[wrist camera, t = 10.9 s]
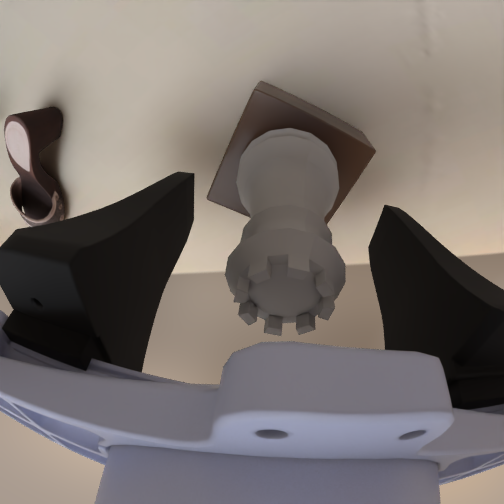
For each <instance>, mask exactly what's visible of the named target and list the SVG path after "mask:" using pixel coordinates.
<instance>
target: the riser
mask: <svg viewBox="0 0 504 504" xmlns="http://www.w3.org/2000/svg"><path fill="white" fill-rule="evenodd" d="M286 128H293V129H297V130H301V131H305V132H309V133H311V134H313V135H314V136H315V137H317V138H318V139H320V140H321V141H322V142H324V143H325V144H326V145H327V146H328V148H329V149H330V151H331V153H332V155H333V156H334V158H335V160H336V162H337V170H338V179H339V191H338V194H337V196H336V199H335V202H334V204H333V207H332V209H331V210H330V211H329V212H328V213H327V215H326V216H325V217H324V221H325V223H326V225H327V223H328V222H329V221H330V219H331V218H332V216H333V215H334V213H335V212H336V210H337V209H338V208H339V206H340V205H341V203H342V202H343V200H344V199H345V197H346V196H347V194H348V193H349V191H350V190H351V188H352V187H353V185H354V184H355V182H356V181H357V179H358V178H359V176H360V175H361V173H362V172H363V170H364V169H365V167H366V166H367V164H368V163H369V161H370V160H371V158H372V157H373V155H374V154H375V152H376V150H375V149H374V148H373V146H372V145H371V143H370V142H369V141H368V139H367V138H366V136H365V135H364V134H363V132H362V131H360V130H358V129H356V128H355V127H353V126H351V125H349V124H348V123H346V122H344V121H342V120H341V119H339V118H337V117H335V116H333V115H331V114H329V113H328V112H326V111H324V110H322V109H320V108H318V107H316V106H314V105H312V104H310V103H308V102H306V101H304V100H302V99H300V98H298V97H296V96H294V95H292V94H290V93H287V92H285V91H283V90H281V89H279V88H277V87H274V86H272V85H270V84H268V83H265V82H263V81H260V82H259V83H258V84H257V86H256V87H255V89H254V90H253V92H252V95H251V97H250V99H249V101H248V103H247V105H246V107H245V110H244V112H243V114H242V116H241V118H240V121H239V123H238V125H237V127H236V129H235V132H234V134H233V136H232V138H231V141H230V143H229V145H228V148H227V150H226V152H225V154H224V157H223V159H222V161H221V164H220V166H219V168H218V171H217V173H216V176H215V178H214V180H213V183H212V185H211V188H210V190H209V192H208V195H207V200H210V201H212V202H214V203H217V204H219V205H222V206H224V207H226V208H229V209H231V210H234V211H236V212H238V213H241V214H243V215H246V216H248V217H250V214H249V212H248V211H247V210H246V208H245V207H244V206H243V204H242V203H241V199H240V195H239V191H238V187H237V183H236V181H237V176H238V169H239V164H240V159H241V156H242V154H243V153H244V151H245V150H246V149H247V147H248V146H249V144H250V143H251V142H252V141H253V140H254V139H256V138H258V137H260V136H261V135H263V134H265V133H266V132H268V131H271V130H278V129H286Z"/></svg>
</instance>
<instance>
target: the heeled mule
mask: <svg viewBox="0 0 504 504" xmlns="http://www.w3.org/2000/svg"><path fill="white" fill-rule="evenodd" d="M62 121H63V120H62V114H61V112H60V110H59V109H57V108H56V107H49V108H44V109H39V110H34V111H28V112H23V113H18V114H13V115H10V116H8V117H7V118H6V121H5V128H4V132H5V141H6V146H7V151H8V155H9V158H10V160H11V163H12V165H13V166H14V168H15V169H16V171H17V172H18V174H19V175H20V177H19V178H17V179H16V180H15V181H14V182H13V183H12V185H11V188H10V195H11V200H12V203H13V205H14V206H15V208H16V209H17V210H18V211H19V213H20V214H21V216H22V218H23V219H24V221H25V223H26V224H27V225H29V227H33V226H39V225H45V224H50V223H54V222H58V221H63V219H64V202H63V197H62V194H61V191H60V187H59V185H58V182H56V181H55V180H54V179H53V178H52V177H50V176H49V175H48V174H47V173H46V172H45V171H44V170H43V168H42V167H41V164H40V160H39V152H40V151H41V150H42V149H44V148H45V147H47V146H48V145H49V144H51V143H52V142H54V141H55V140H57V139H58V138H59V137H60V134H61V129H62ZM22 206H23V208H24V211H25V214H24V213H23V212H22Z"/></svg>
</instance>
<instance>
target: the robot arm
mask: <svg viewBox="0 0 504 504" xmlns="http://www.w3.org/2000/svg"><path fill="white" fill-rule="evenodd" d="M193 221H194V173H186V172H177V173H174V174H172V175H170V176H168V177H166V178H164V179H162V180H160V181H158V182H156V183H154V184H152V185H151V186H149V187H147V188H145V189H143V190H141V191H139V192H137V193H135V194H133V195H131V196H129V197H127V198H125V199H123V200H121V201H118V202H116V203H114V204H111V205H109V206H106V207H104V208H101V209H98V210H95V211H92V212H89V213H86V214H83V215H80V216H77V217H74V218H70V219H66V220H63V221H58V222H54V223H50V224H45V225H39V226H33V227H27V228H21V229H17V230H15V231H14V233H13V234H12V235H11V236H10V237H9V238H8V239H7V240H6V241H5V242H4V243H3V244H2V246H1V247H0V285H1V288H2V289H3V291H4V293H5V295H6V297H7V299H8V301H9V302H10V304H11V306H12V308H13V309H14V310H13V311H12V313H11V314H10V316H9V317H8V316H7V315H6V314H5V313H4V312H2V311H1V310H0V411H1V412H3V413H5V414H6V415H8V416H9V417H11V418H12V419H14V420H16V421H17V422H19V423H21V424H23V425H24V426H26V427H28V428H30V429H31V430H33V431H35V432H36V433H38V434H40V435H42V436H44V437H46V438H48V439H49V440H51V441H53V442H55V443H57V444H59V445H61V446H63V447H65V448H67V449H69V450H72V451H74V452H76V453H78V454H80V455H82V456H85V457H87V458H89V459H91V460H94V461H96V462H99V463H101V464H104V465H105V468H104V471H103V475H102V478H101V482H100V486H99V489H98V493H97V497H96V501H95V504H440V492H439V485H442V484H446V483H449V482H453V481H456V480H459V479H463V478H466V477H469V476H472V475H475V474H478V473H481V472H484V471H486V470H489V469H492V468H495V467H497V466H500V465H503V464H504V290H503V289H501V288H500V287H498V286H496V285H495V284H493V283H492V282H490V281H489V280H487V279H486V278H484V277H483V276H481V275H480V274H478V273H477V272H476V271H474V270H473V269H471V268H470V267H469V266H468V265H466V264H465V263H464V262H462V261H461V260H460V259H458V258H457V257H456V256H455V255H454V254H452V253H451V252H450V251H449V250H448V249H447V248H445V247H444V246H443V245H442V244H441V243H440V242H439V241H437V240H436V239H435V238H434V237H433V236H432V235H431V234H430V233H429V232H428V231H426V230H425V229H424V228H423V227H422V226H421V225H420V224H419V223H418V222H416V221H415V220H414V219H413V218H412V217H411V216H409V215H408V214H407V213H406V212H404V211H403V210H401V209H400V208H397V207H392V206H388V205H384V208H383V211H382V214H381V216H380V219H379V221H378V224H377V227H376V229H375V232H374V234H373V237H372V240H371V242H370V245H369V247H368V248H369V259H370V267H371V272H372V276H373V280H374V285H375V288H376V292H377V297H378V301H379V305H380V310H381V314H382V320H383V327H384V340H385V350H379V349H364V348H352V347H341V346H340V347H339V346H330V345H320V344H310V343H302V342H294V341H293V342H292V341H289V342H288V341H287V342H260V343H258V344H255V345H252V346H249V347H247V348H244V349H241V350H238V351H236V352H234V353H232V355H231V356H230V358H229V359H228V361H227V362H226V363H225V365H224V366H223V371H222V376H221V382H220V385H218V384H190V383H185V382H180V381H175V380H171V379H167V378H162V377H158V376H153V375H150V374H145V373H142V367H143V363H144V358H145V354H146V349H147V346H148V341H149V337H150V334H151V330H152V326H153V323H154V319H155V316H156V312H157V309H158V306H159V303H160V300H161V297H162V293H163V291H164V288H165V286H166V284H167V281H168V279H169V277H170V275H171V273H172V271H173V269H174V267H175V265H176V263H177V261H178V258H179V256H180V254H181V252H182V250H183V248H184V246H185V244H186V242H187V239H188V236H189V233H190V230H191V227H192V224H193Z"/></svg>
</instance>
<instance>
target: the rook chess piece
mask: <svg viewBox="0 0 504 504" xmlns="http://www.w3.org/2000/svg"><path fill="white" fill-rule="evenodd" d="M236 183H237V187H238V191H239V195H240V199H241V203H242V204H243V206H244V207H245V208H246V210H247V211H248V212H249V214H250V218H251V219H250V221H249V222H248V223H247V224H246V226H245V227H244V229H243V233H242V238H241V242H240V244H239V245H238V246H237V247H236V248H235V250H234V251H233V252H232V253H231V255H230V256H229V257H228V261H227V266H226V272H225V276H226V279H227V282H228V285H229V288H230V291H231V292H232V293H233V295H234V296H235V298H234V302H238V303H240V308H239V313H238V315H239V316H240V317H241V318H242V319H243V320H244V321H245V322H246V323H247V324H248V325H251V324H253V323H254V322H256V321H257V316H258V317H260V318H262V319H264V320H265V327H264V333H268V334H273V335H279V336H281V334H282V323H294V322H296V330H297V331H298V334H299V335H300V334H303V333H307V332H310V331H312V330H315V316H316V315H318V317H319V318H322V319H325V320H328V319H329V318H330V316H331V314H332V312H333V311H334V309H335V305H334V300H335V299H336V298H337V297H338V295H339V293H340V291H341V290H342V288H343V286H344V284H345V263H344V261H343V260H342V258H341V256H340V254H339V253H338V251H337V249H336V248H335V247H334V246H333V245H332V233H331V231H330V230H329V228H328V226H327V225H326V223H325V221H324V217H325V216H326V215H327V213H328V212H329V211H330V210H331V209H332V207H333V204H334V202H335V199H336V196H337V194H338V191H339V179H338V170H337V162H336V160H335V158H334V156H333V155H332V153H331V151H330V149H329V148H328V146H327V145H326V144H325V143H324V142H322V141H321V140H320V139H318V138H317V137H315V136H314V135H313V134H311V133H309V132H305V131H301V130H297V129H293V128H286V129H278V130H271V131H268V132H266V133H265V134H263V135H261V136H260V137H258V138H256V139H254V140H253V141H252V142H251V143H250V144H249V146H248V147H247V149H246V150H245V151H244V153H243V154H242V156H241V159H240V164H239V169H238V176H237V181H236Z"/></svg>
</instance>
